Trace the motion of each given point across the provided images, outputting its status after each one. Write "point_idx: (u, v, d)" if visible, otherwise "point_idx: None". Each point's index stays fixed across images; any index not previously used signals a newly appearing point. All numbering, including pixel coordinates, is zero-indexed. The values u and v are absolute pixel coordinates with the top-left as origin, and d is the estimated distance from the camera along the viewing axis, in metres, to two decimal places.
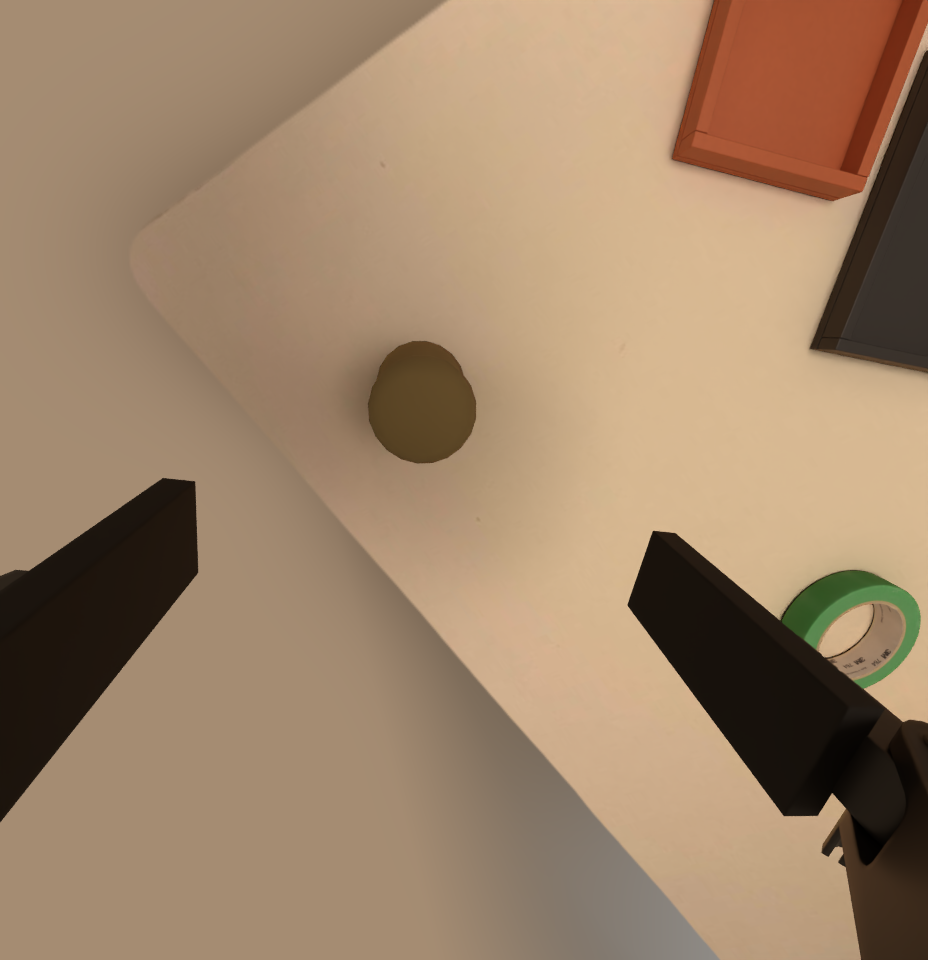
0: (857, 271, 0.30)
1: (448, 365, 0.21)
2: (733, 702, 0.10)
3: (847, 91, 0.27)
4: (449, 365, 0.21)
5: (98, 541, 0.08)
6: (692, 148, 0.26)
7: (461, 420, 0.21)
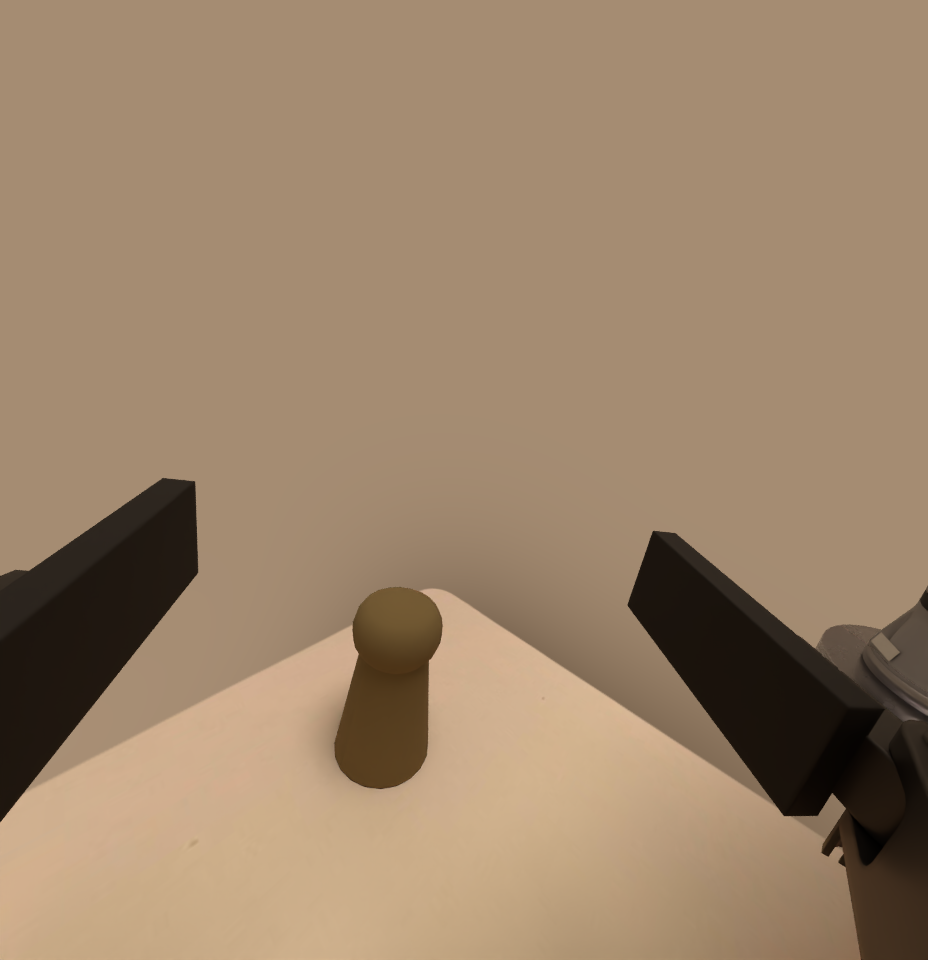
0: None
1: (440, 628, 0.26)
2: (732, 702, 0.10)
3: None
4: (440, 631, 0.26)
5: (98, 541, 0.08)
6: None
7: (402, 625, 0.24)
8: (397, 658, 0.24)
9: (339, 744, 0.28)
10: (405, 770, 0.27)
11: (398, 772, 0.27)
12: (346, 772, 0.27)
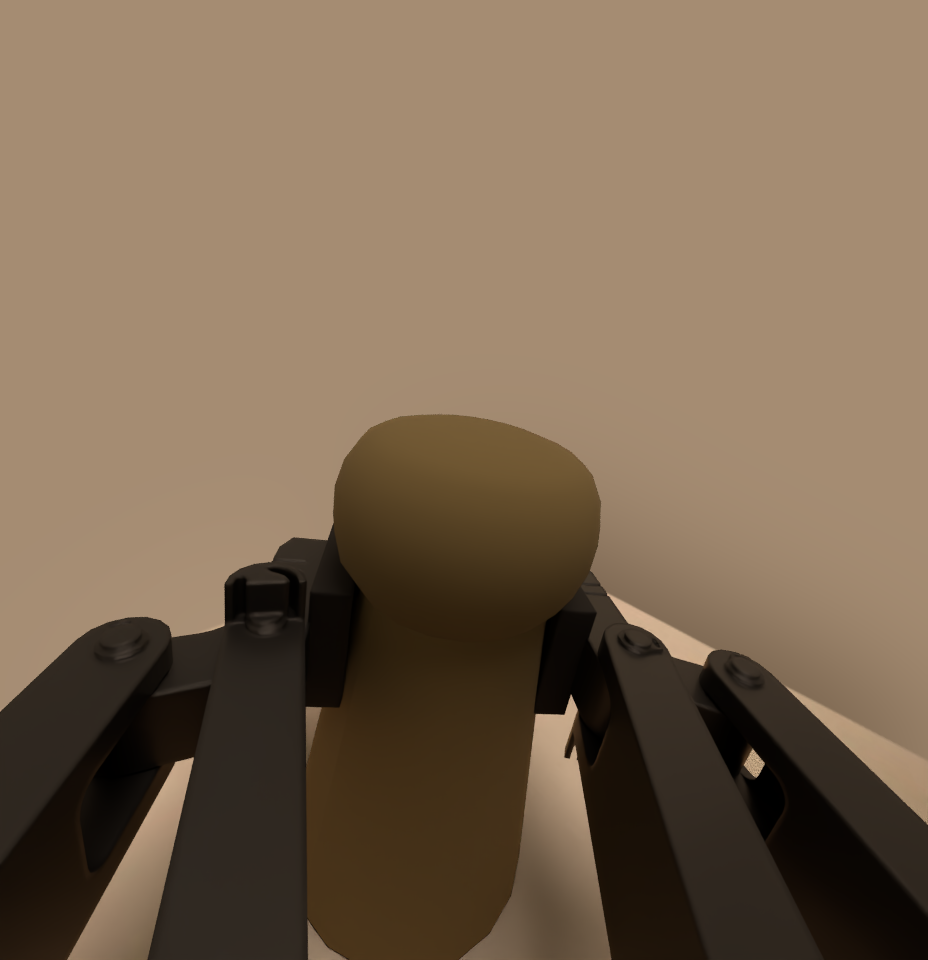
0: None
1: (600, 506, 0.08)
2: None
3: None
4: None
5: None
6: None
7: (501, 469, 0.07)
8: (488, 580, 0.07)
9: None
10: (479, 917, 0.10)
11: (461, 927, 0.10)
12: (315, 922, 0.10)
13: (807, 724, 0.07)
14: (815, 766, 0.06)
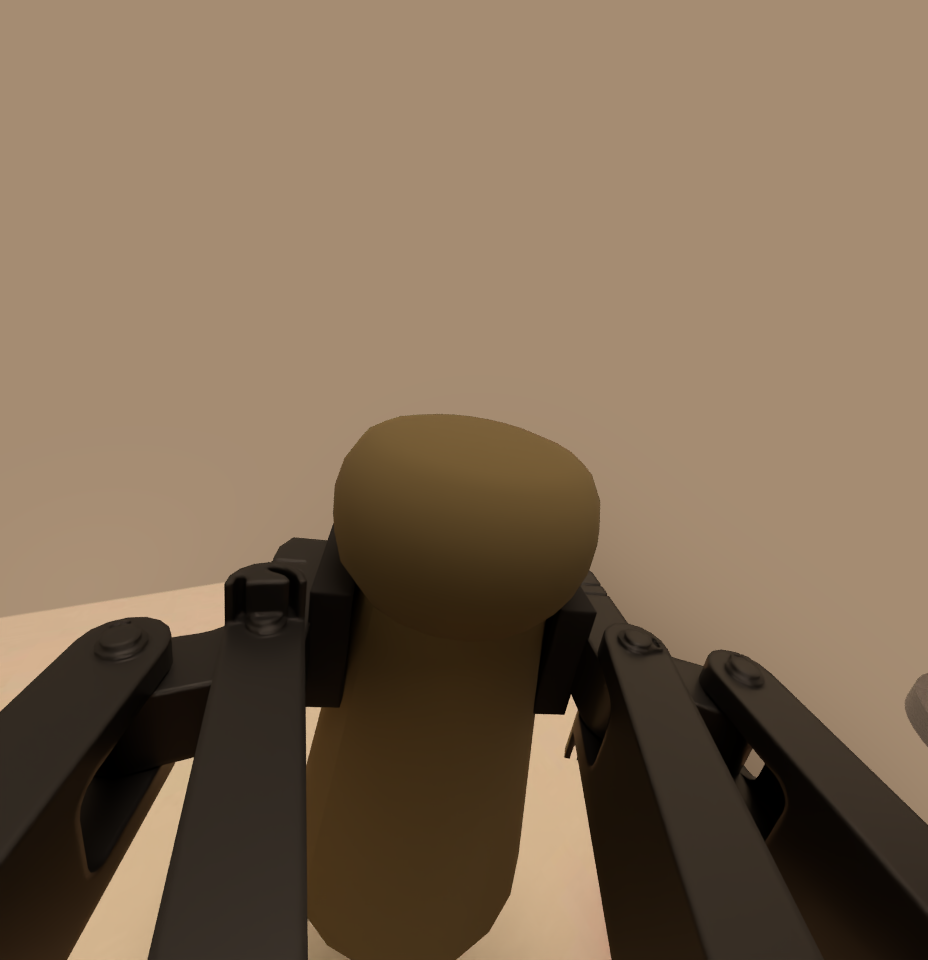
0: None
1: (599, 506, 0.08)
2: None
3: None
4: (599, 514, 0.08)
5: None
6: None
7: (501, 469, 0.07)
8: (487, 580, 0.07)
9: None
10: (478, 916, 0.10)
11: (461, 926, 0.10)
12: (315, 921, 0.10)
13: (807, 725, 0.07)
14: (815, 766, 0.06)
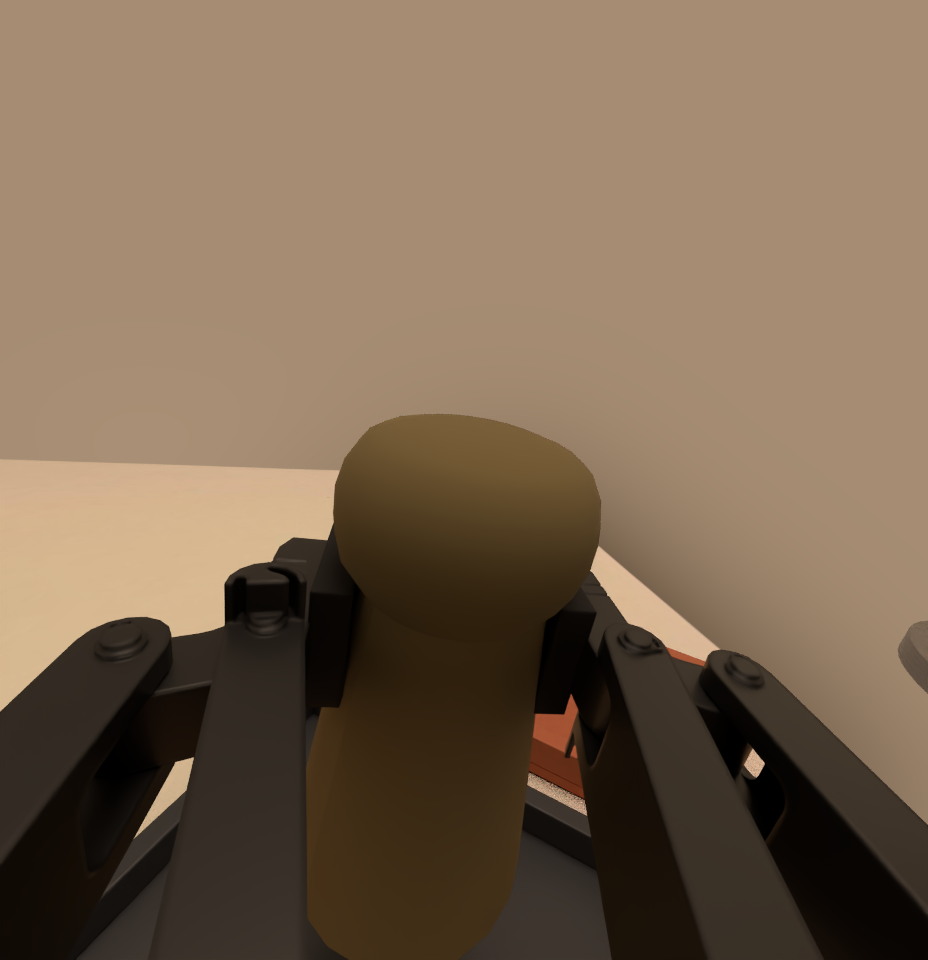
0: None
1: (600, 506, 0.08)
2: None
3: None
4: (600, 514, 0.08)
5: None
6: None
7: (502, 468, 0.07)
8: (488, 580, 0.07)
9: None
10: (479, 917, 0.10)
11: (461, 927, 0.09)
12: (315, 922, 0.10)
13: (807, 725, 0.07)
14: (815, 766, 0.06)
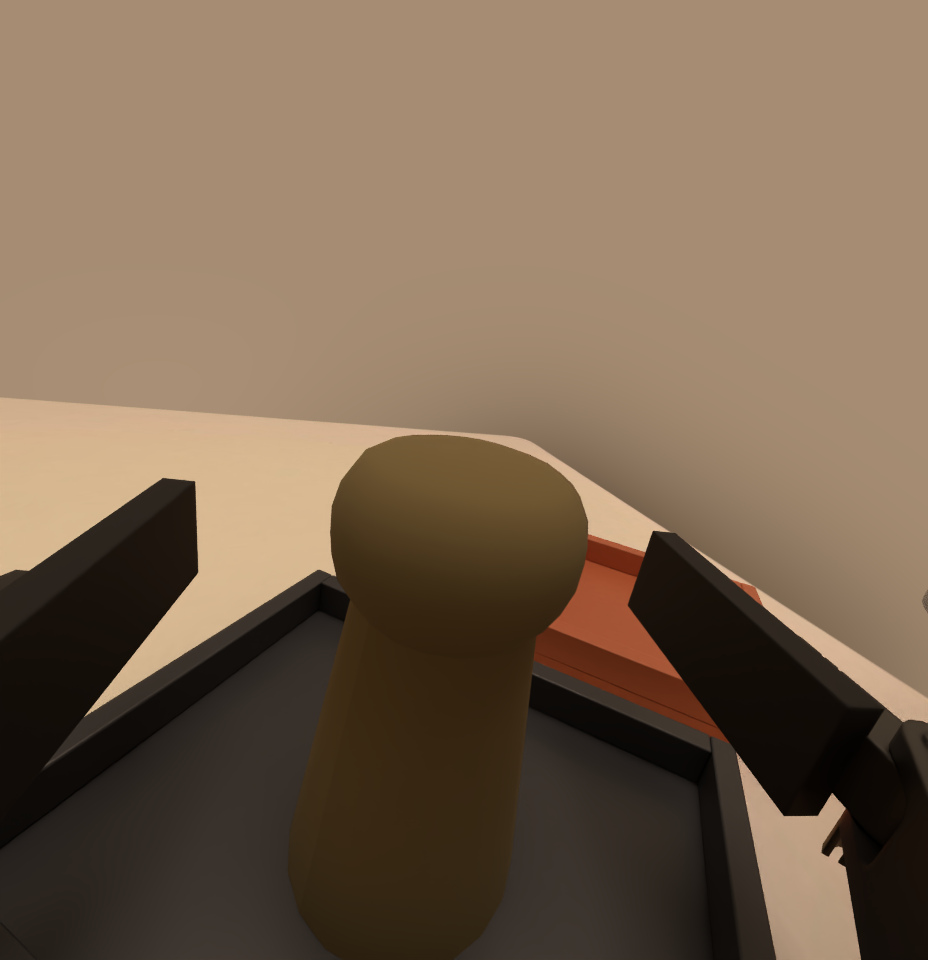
0: None
1: (587, 526, 0.09)
2: (732, 702, 0.10)
3: None
4: (587, 534, 0.09)
5: (98, 541, 0.08)
6: None
7: (491, 494, 0.07)
8: (477, 602, 0.07)
9: (297, 844, 0.11)
10: (471, 920, 0.10)
11: (454, 930, 0.10)
12: (313, 925, 0.10)
13: None
14: None
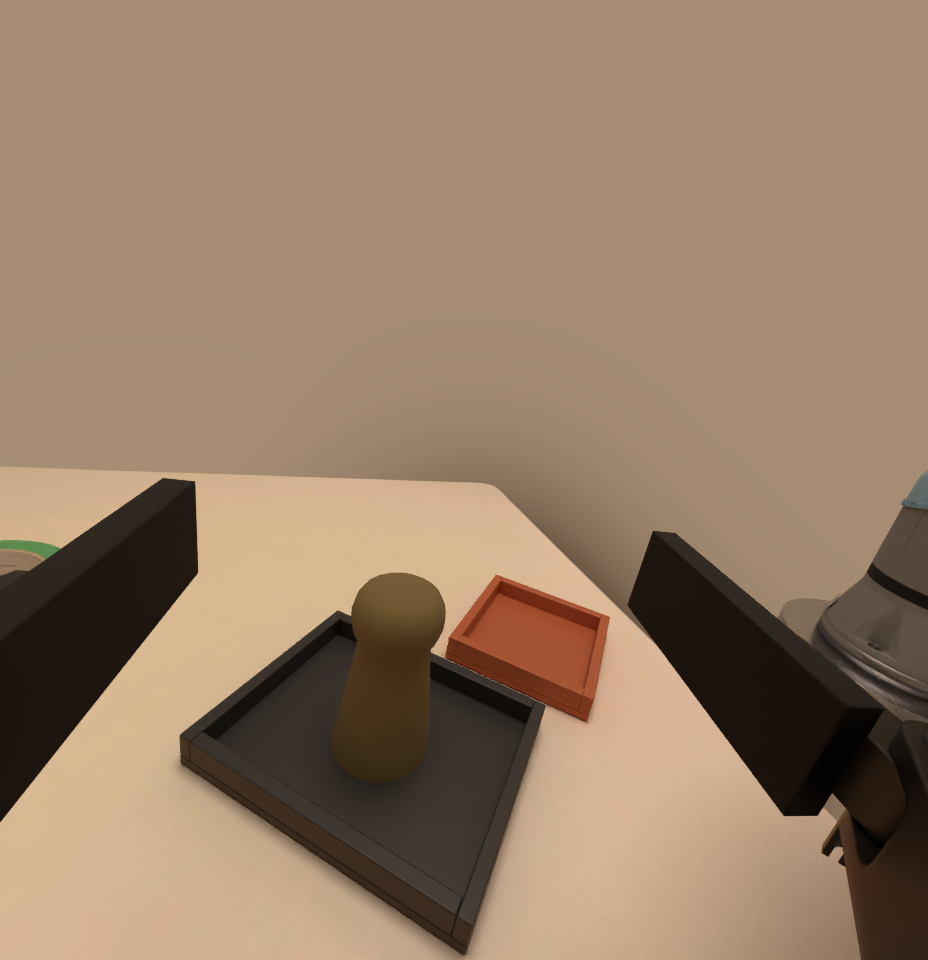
0: None
1: (443, 615, 0.24)
2: (733, 702, 0.10)
3: None
4: (443, 617, 0.25)
5: (98, 541, 0.08)
6: (494, 577, 0.46)
7: (403, 610, 0.23)
8: (398, 645, 0.23)
9: (336, 736, 0.26)
10: (405, 764, 0.26)
11: (397, 766, 0.26)
12: (343, 766, 0.26)
13: None
14: None
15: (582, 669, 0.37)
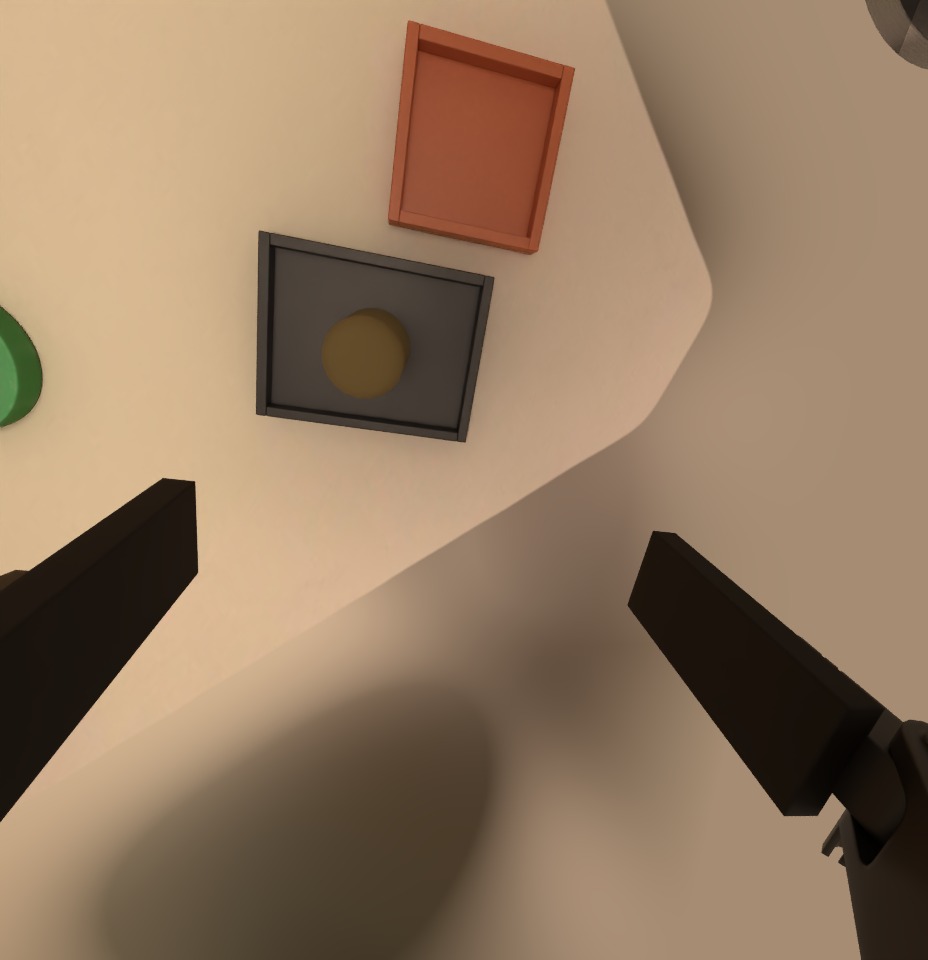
0: None
1: (402, 358, 0.28)
2: (733, 702, 0.10)
3: (461, 206, 0.35)
4: (403, 358, 0.29)
5: (98, 541, 0.08)
6: (407, 25, 0.29)
7: (374, 386, 0.28)
8: None
9: None
10: None
11: None
12: None
13: None
14: None
15: (531, 184, 0.35)
